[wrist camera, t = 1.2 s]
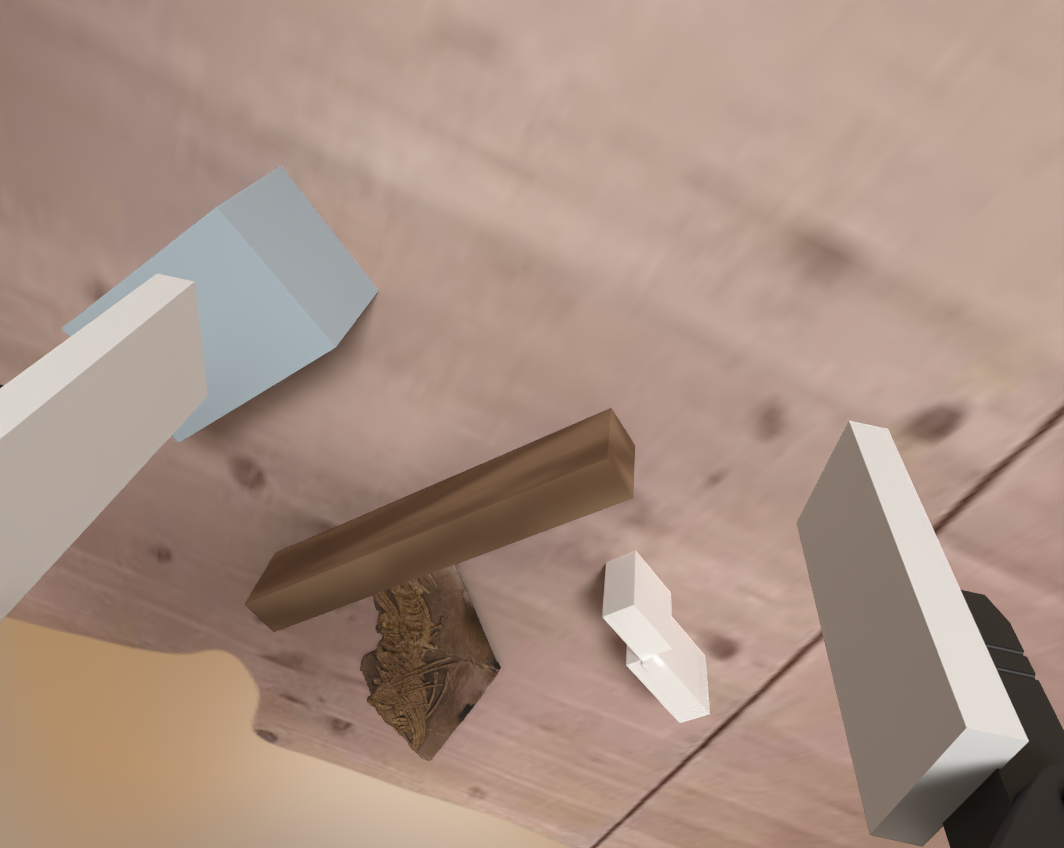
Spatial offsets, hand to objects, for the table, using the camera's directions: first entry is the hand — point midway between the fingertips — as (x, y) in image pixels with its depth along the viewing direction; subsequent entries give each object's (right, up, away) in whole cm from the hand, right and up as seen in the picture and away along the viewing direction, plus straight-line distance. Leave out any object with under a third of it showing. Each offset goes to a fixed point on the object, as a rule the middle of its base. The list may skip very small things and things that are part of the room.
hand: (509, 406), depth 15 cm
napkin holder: (+10, -13, +38) cm, 41 cm away
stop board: (-6, -6, +35) cm, 36 cm away
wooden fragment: (-8, -20, +45) cm, 50 cm away
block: (-15, +8, +27) cm, 32 cm away
